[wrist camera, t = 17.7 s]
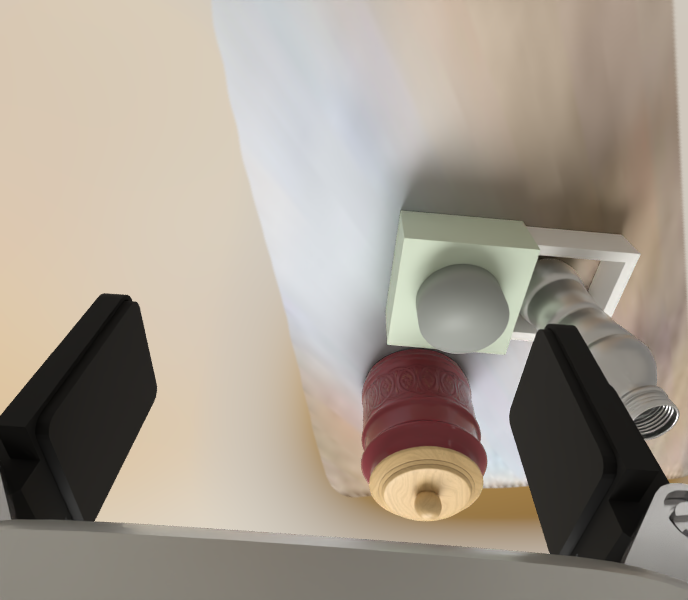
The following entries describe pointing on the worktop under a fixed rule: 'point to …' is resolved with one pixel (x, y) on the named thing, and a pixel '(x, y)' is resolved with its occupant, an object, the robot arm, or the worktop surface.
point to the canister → (421, 436)
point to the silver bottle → (601, 343)
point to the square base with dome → (484, 278)
